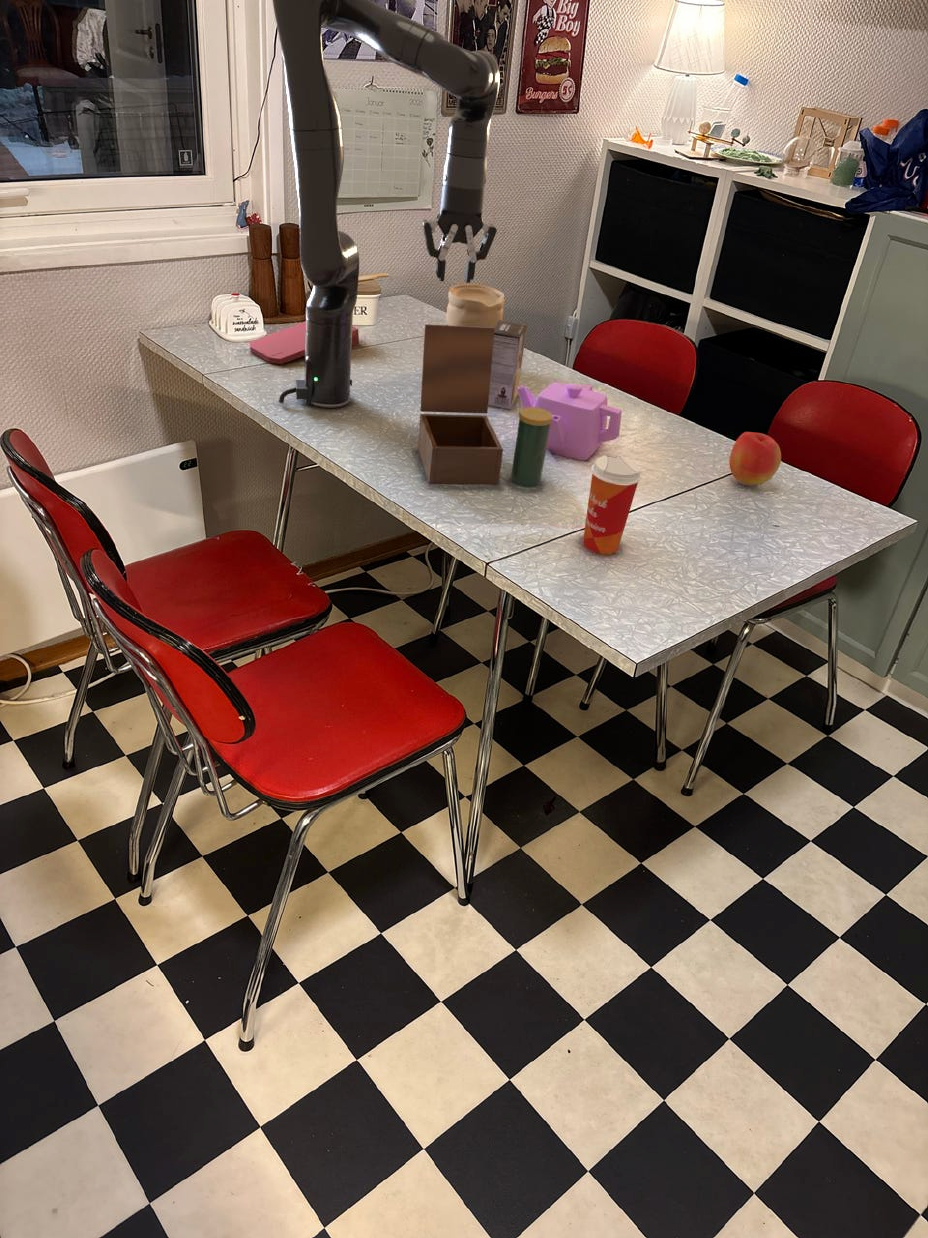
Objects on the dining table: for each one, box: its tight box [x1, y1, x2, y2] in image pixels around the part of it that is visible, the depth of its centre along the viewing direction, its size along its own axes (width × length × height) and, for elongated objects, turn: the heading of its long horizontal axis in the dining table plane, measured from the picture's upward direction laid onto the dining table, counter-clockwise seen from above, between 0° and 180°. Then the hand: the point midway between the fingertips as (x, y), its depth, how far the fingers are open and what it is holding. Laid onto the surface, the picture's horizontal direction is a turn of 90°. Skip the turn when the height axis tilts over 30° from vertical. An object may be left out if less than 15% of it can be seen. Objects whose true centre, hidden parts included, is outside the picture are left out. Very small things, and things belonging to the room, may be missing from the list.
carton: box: [249, 321, 360, 365], centre depth 221 cm, size 12×5×25 cm
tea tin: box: [510, 407, 553, 488], centre depth 172 cm, size 6×6×14 cm
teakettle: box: [517, 381, 623, 461], centre depth 190 cm, size 17×17×12 cm
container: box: [445, 283, 505, 328], centre depth 216 cm, size 13×13×18 cm
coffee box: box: [488, 320, 528, 410], centre depth 204 cm, size 9×6×16 cm
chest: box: [417, 413, 504, 486], centre depth 176 cm, size 15×13×8 cm
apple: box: [728, 431, 782, 487], centre depth 184 cm, size 10×10×10 cm
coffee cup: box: [582, 454, 643, 555], centre depth 156 cm, size 8×8×15 cm
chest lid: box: [419, 323, 495, 414], centre depth 176 cm, size 16×13×1 cm
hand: (454, 280), depth 177 cm, fingers open, 4 cm apart
